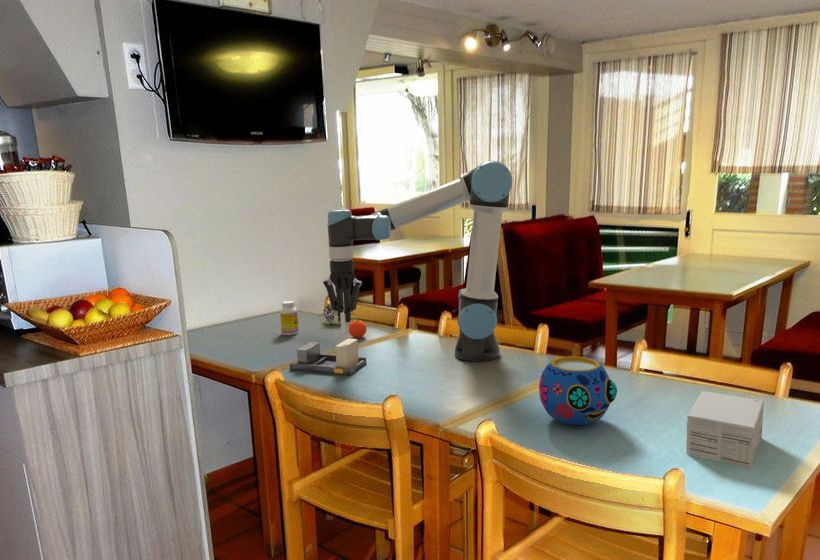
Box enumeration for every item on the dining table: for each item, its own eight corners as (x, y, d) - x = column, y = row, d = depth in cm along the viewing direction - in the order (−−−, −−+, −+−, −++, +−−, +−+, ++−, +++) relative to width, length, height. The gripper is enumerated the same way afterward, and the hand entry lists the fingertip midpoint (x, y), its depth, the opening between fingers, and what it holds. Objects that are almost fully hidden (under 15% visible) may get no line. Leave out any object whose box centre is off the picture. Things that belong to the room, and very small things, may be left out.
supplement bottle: (296, 335, 245) (294, 303, 243) (280, 336, 245) (277, 304, 243) (300, 331, 251) (297, 300, 249) (283, 331, 252) (281, 300, 249)
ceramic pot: (568, 441, 144) (569, 379, 141) (525, 415, 160) (524, 359, 157) (627, 427, 151) (629, 367, 148) (580, 402, 167) (580, 348, 164)
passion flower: (329, 336, 262) (315, 312, 264) (350, 327, 269) (336, 303, 271) (339, 326, 253) (324, 301, 255) (360, 316, 260) (345, 292, 262)
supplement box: (699, 427, 150) (701, 390, 148) (762, 439, 142) (764, 400, 140) (684, 454, 136) (686, 414, 134) (752, 469, 129) (755, 426, 127)
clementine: (345, 336, 241) (344, 318, 240) (362, 333, 244) (361, 316, 243) (352, 341, 234) (351, 322, 233) (369, 338, 237) (368, 320, 236)
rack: (366, 363, 206) (365, 344, 205) (350, 375, 195) (348, 355, 194) (308, 358, 214) (307, 340, 213) (289, 370, 203) (288, 350, 202)
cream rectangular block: (358, 362, 206) (357, 339, 204) (346, 371, 197) (345, 346, 196) (349, 361, 207) (347, 338, 205) (336, 370, 199) (335, 346, 197)
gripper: (365, 257, 197) (368, 330, 201) (328, 257, 202) (332, 327, 206) (355, 261, 190) (358, 336, 194) (317, 260, 195) (321, 333, 199)
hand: (345, 331), depth 200 cm, fingers closed
